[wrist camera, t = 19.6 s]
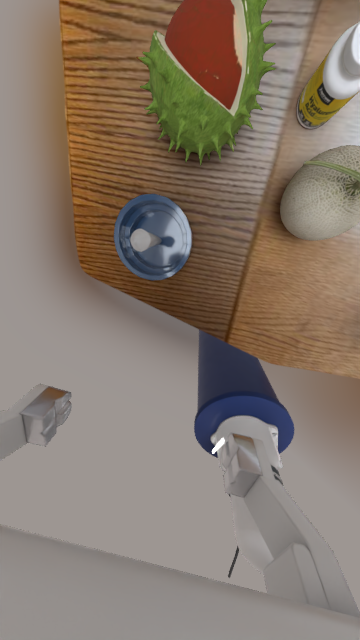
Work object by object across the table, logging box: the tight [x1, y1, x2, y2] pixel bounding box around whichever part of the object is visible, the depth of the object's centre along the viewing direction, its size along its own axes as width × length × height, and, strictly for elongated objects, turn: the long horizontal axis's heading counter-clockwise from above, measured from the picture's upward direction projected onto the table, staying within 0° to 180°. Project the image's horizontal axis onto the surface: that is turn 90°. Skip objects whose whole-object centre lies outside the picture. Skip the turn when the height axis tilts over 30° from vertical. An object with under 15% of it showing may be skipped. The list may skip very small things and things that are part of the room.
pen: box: [130, 229, 162, 252], centre depth 28 cm, size 2×3×14 cm
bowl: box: [114, 194, 193, 280], centre depth 32 cm, size 13×13×6 cm
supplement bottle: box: [297, 21, 360, 129], centre depth 22 cm, size 5×5×10 cm
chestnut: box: [136, 0, 276, 166], centre depth 22 cm, size 15×14×15 cm
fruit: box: [280, 145, 360, 240], centre depth 24 cm, size 10×12×15 cm
